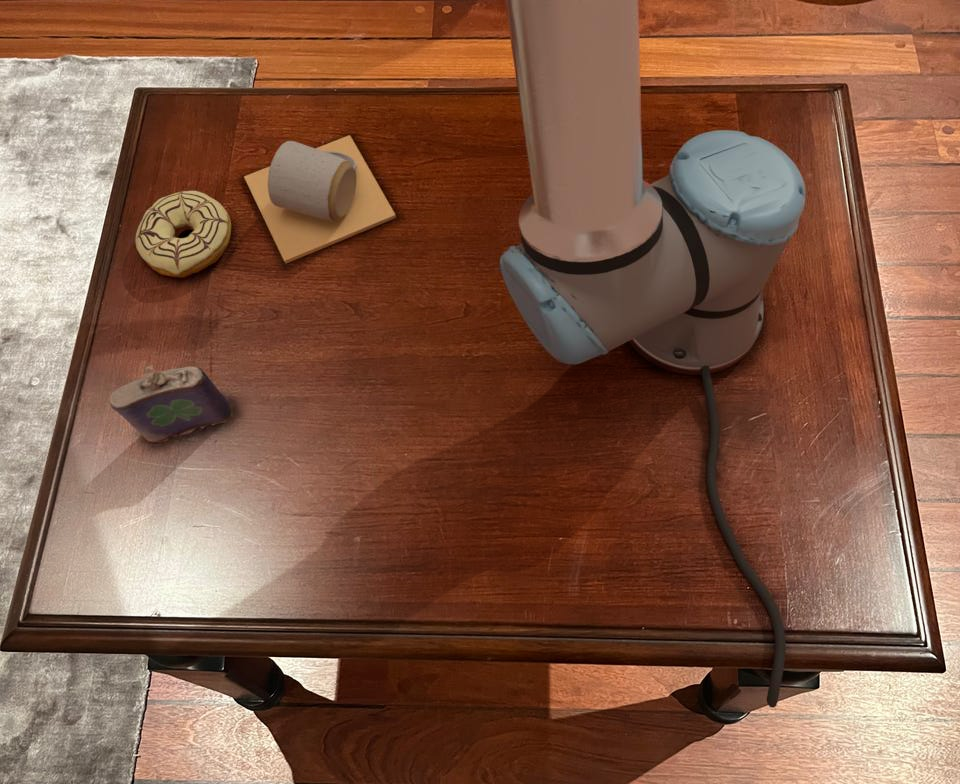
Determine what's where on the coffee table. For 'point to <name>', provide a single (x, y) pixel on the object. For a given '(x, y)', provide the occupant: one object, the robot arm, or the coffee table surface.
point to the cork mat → (312, 233)
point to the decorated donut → (176, 217)
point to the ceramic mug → (312, 181)
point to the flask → (170, 403)
